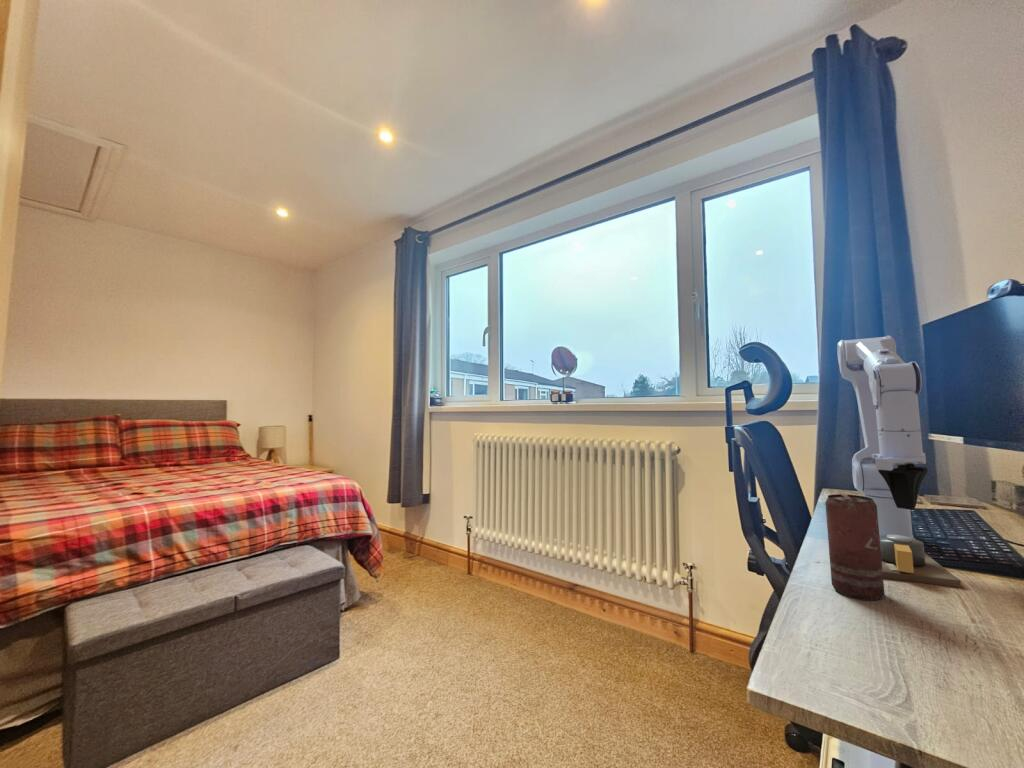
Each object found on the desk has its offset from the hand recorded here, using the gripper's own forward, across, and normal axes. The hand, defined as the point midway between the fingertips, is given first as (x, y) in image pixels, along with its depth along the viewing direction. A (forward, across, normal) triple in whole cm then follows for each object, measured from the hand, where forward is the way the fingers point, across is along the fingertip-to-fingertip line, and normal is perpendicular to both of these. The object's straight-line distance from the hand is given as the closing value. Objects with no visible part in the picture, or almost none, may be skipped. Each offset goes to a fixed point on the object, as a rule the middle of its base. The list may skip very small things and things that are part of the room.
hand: (905, 508), depth 75 cm
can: (+10, +21, +1) cm, 23 cm away
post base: (+9, +4, 0) cm, 10 cm away
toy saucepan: (+8, +5, +1) cm, 10 cm away
